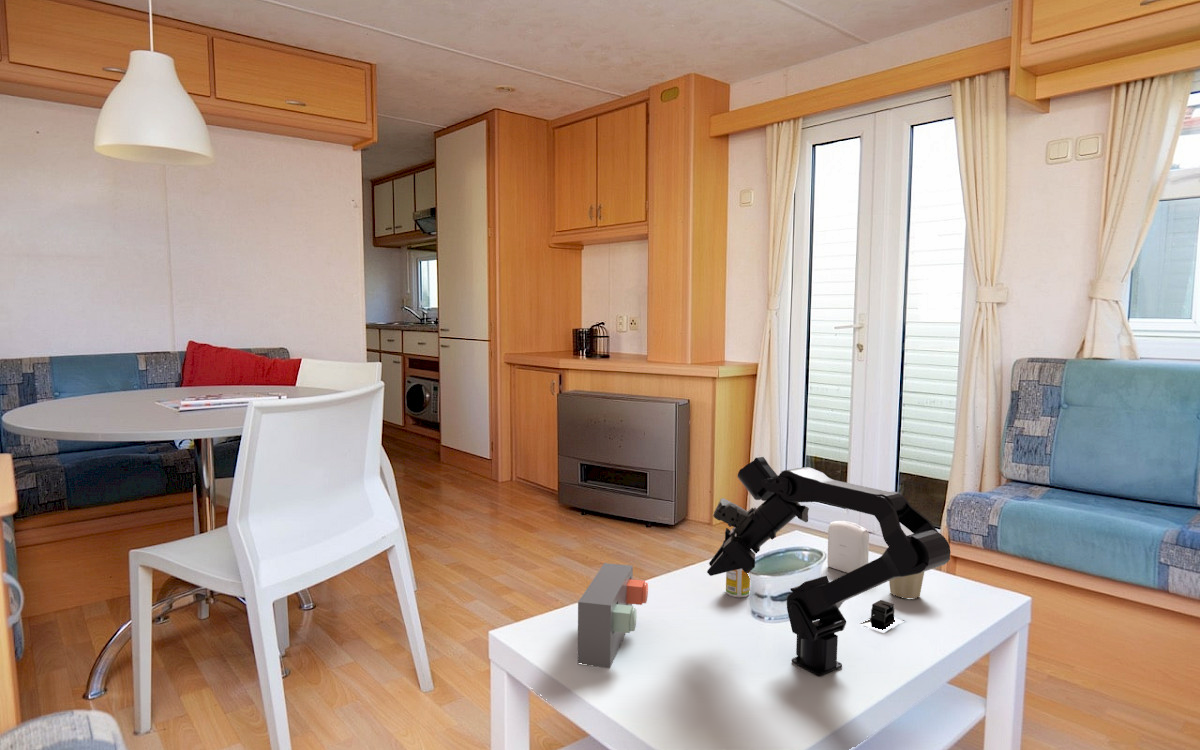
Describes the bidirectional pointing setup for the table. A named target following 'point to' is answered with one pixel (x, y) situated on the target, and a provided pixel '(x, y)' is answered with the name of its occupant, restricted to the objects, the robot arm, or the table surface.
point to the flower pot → (907, 585)
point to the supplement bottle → (737, 583)
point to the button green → (624, 618)
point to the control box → (602, 615)
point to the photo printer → (847, 546)
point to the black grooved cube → (881, 615)
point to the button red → (637, 592)
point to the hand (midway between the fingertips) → (709, 569)
